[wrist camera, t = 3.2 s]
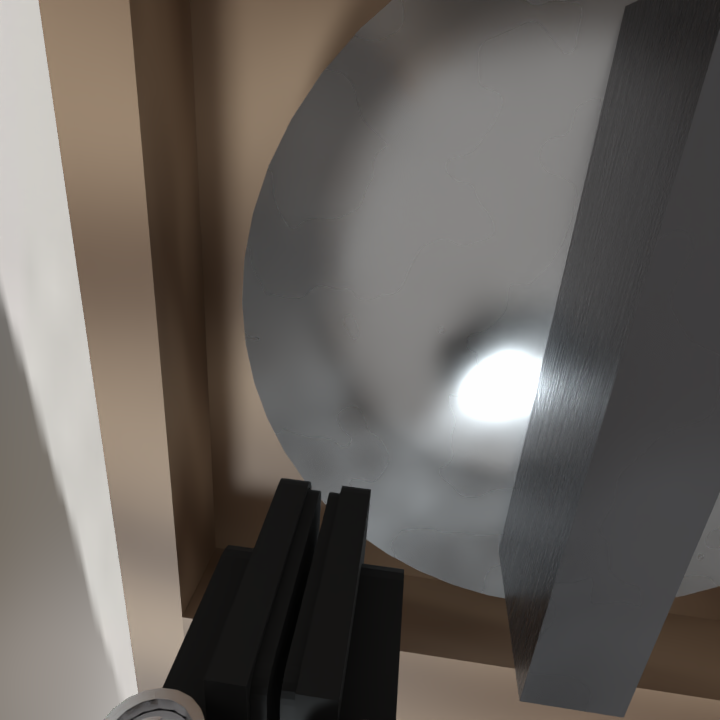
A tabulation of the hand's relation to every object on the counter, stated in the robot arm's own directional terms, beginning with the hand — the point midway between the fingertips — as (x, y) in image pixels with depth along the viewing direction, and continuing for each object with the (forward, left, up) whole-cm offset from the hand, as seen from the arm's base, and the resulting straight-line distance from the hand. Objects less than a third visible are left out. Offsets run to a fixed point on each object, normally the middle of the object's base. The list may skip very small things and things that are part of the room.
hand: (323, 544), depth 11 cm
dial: (+1, -6, -4) cm, 7 cm away
